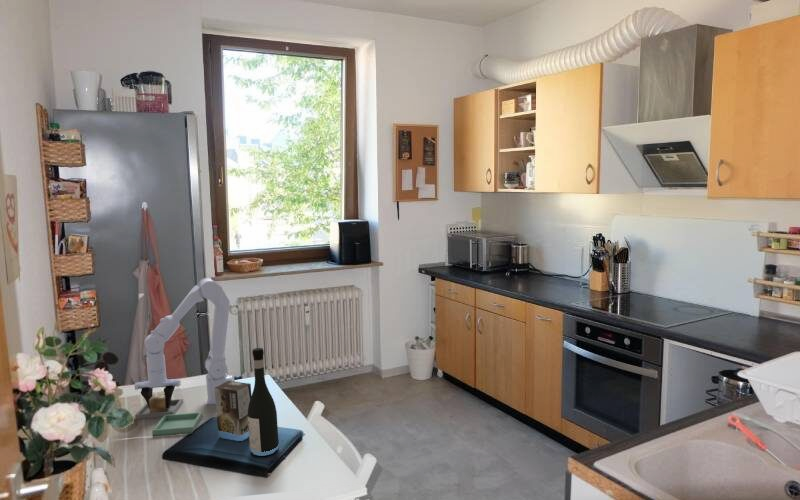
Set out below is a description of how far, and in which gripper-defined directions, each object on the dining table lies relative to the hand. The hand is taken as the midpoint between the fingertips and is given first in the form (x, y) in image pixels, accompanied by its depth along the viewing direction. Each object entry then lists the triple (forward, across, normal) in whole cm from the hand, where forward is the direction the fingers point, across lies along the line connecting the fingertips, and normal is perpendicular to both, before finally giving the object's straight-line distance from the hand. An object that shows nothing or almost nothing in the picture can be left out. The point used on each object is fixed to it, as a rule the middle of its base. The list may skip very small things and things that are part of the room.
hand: (159, 407), depth 189 cm
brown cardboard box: (+1, 0, 0) cm, 1 cm away
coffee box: (+2, -30, +25) cm, 39 cm away
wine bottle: (+2, -40, +37) cm, 55 cm away
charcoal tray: (+2, 0, 0) cm, 2 cm away
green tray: (+2, -10, +14) cm, 17 cm away
